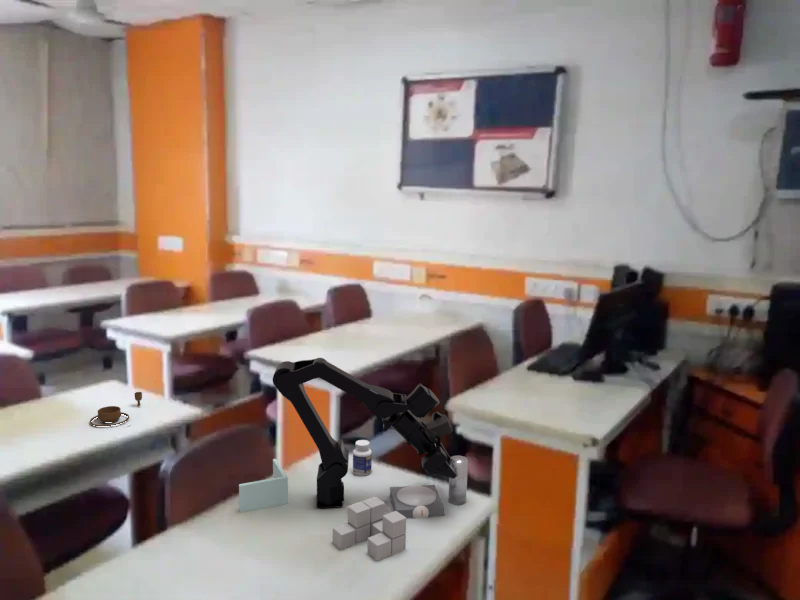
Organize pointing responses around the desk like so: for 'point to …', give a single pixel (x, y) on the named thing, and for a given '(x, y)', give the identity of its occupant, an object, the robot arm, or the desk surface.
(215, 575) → the desk surface
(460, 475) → the cylinder
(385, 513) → the short steel spacer
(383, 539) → the puzzle cube
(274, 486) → the l-shaped corner panel
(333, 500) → the robot arm
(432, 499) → the scale
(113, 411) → the place setting
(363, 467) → the pill bottle
